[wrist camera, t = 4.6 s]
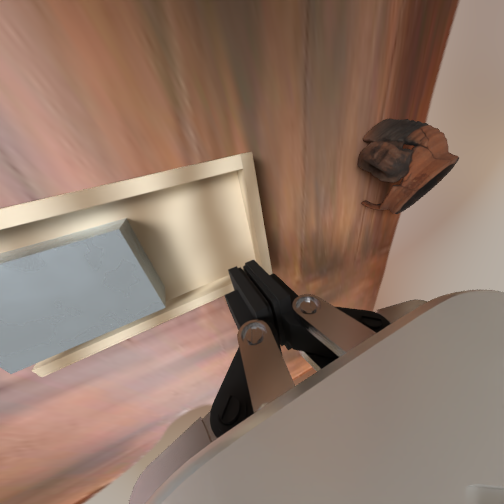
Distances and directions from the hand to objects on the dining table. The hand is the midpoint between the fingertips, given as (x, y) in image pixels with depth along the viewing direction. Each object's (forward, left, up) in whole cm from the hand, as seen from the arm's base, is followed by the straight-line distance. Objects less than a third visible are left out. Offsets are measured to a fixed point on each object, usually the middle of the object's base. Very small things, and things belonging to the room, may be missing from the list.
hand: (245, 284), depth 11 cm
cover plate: (+9, -6, -8) cm, 13 cm away
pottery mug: (-20, +7, -9) cm, 23 cm away
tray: (+5, -3, -8) cm, 10 cm away
